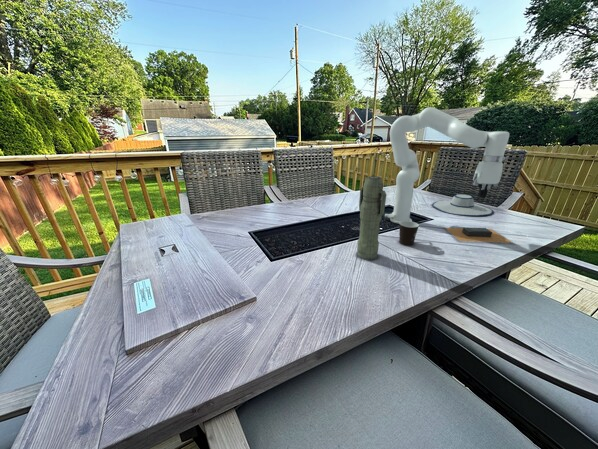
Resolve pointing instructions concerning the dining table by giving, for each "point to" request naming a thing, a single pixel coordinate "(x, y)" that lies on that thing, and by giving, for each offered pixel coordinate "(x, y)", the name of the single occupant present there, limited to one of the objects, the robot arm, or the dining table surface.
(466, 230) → the block
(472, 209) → the sun hat
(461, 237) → the cork mat
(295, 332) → the dining table surface
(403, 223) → the coffee mug
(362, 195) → the thermos
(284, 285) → the dining table surface
